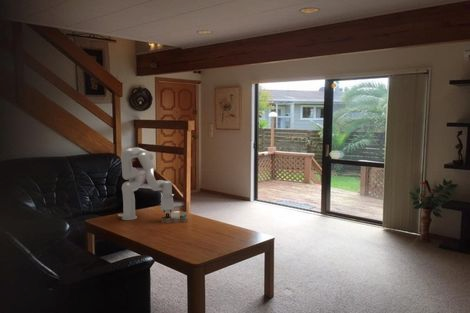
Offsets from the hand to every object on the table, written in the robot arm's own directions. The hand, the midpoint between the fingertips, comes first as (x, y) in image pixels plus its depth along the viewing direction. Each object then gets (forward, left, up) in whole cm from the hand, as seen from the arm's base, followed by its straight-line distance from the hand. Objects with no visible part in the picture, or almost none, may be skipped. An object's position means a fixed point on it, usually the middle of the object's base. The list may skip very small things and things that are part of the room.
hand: (167, 217), depth 319 cm
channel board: (+5, 0, -3) cm, 6 cm away
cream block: (+6, 0, -1) cm, 6 cm away
